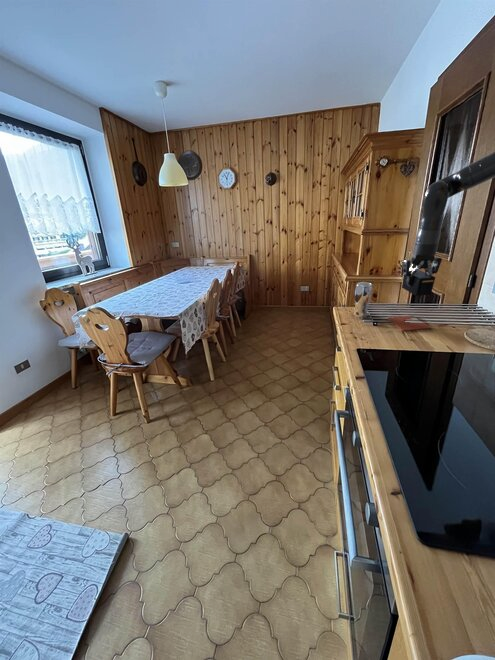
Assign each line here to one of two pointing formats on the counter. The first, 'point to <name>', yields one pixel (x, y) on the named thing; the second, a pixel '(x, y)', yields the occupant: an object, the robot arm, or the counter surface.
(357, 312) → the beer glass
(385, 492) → the counter surface
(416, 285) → the glossy black box
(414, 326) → the mat
